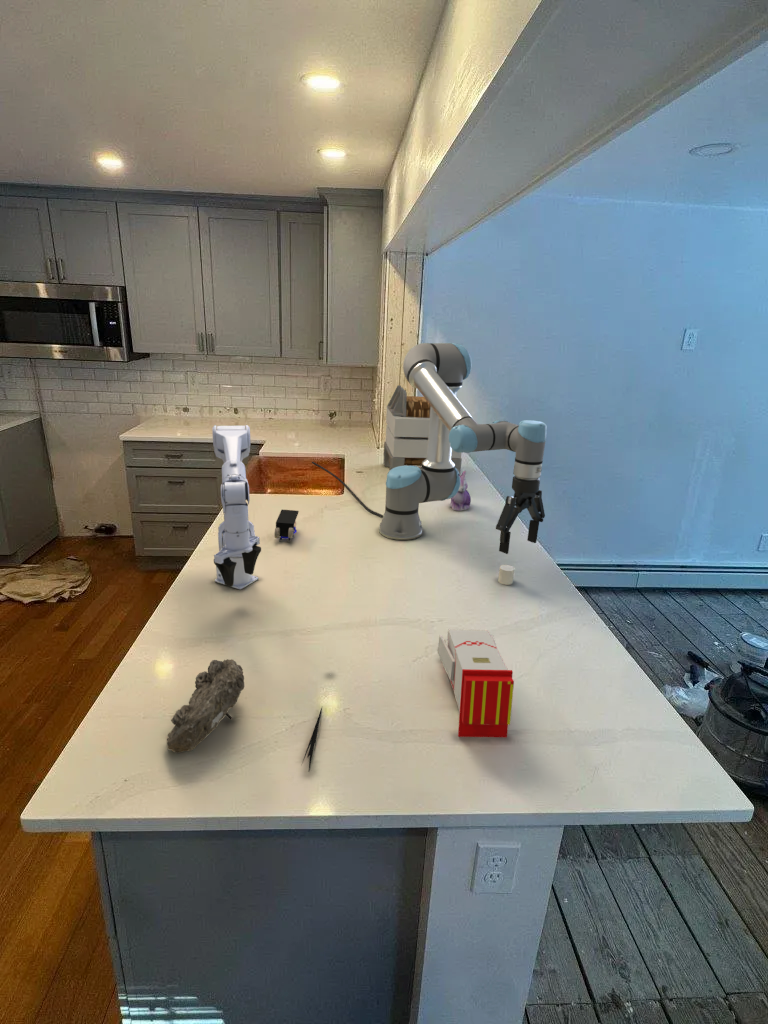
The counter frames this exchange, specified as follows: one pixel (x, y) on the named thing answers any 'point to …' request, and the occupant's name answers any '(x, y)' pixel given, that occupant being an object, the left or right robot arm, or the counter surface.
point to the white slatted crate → (409, 431)
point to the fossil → (206, 705)
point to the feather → (313, 740)
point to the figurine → (461, 496)
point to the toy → (478, 682)
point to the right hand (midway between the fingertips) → (518, 546)
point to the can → (506, 574)
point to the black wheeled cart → (286, 524)
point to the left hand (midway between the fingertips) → (239, 579)
